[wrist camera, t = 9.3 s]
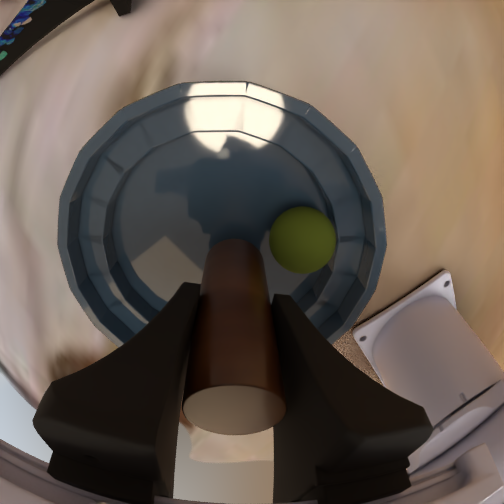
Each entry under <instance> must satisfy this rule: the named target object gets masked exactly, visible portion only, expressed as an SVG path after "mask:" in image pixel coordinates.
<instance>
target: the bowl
mask: <svg viewBox="0 0 504 504" xmlns="http://www.w3.org/2000/svg"><path fill="white" fill-rule="evenodd" d="M300 206H306V207H311V208H314V209H316V210H319V211H320V212H322V213H323V214H324V215H325V216H326V217H327V218H328V219H329V220H330V222H331V223H332V225H333V227H334V230H335V234H336V246H335V250H334V253H333V255H332V257H331V259H330V260H329V261H328V263H327V264H326V265H325V266H323V267H322V268H321V269H319V270H317V271H315V272H312V273H306V274H299V273H294V272H291V271H288V270H286V269H285V268H283V267H282V266H281V265H280V264H279V263H278V262H277V261H276V260H275V258H274V257H273V255H272V252H271V249H270V245H269V235H270V230H271V228H272V225H273V223H274V222H275V220H276V219H277V218H278V217H279V216H280V215H281V214H282V213H283V212H285V211H286V210H288V209H291V208H294V207H300ZM227 239H241V240H245V241H247V242H250V243H251V244H253V245H254V246H255V247H257V249H258V250H259V251H260V253H261V254H262V257H263V260H264V266H265V272H266V278H267V284H268V290H269V296H270V302H271V304H272V300H273V297H274V293H275V294H284V295H290V296H291V297H292V298H293V299H294V301H295V302H296V303H297V305H298V306H299V307H300V309H301V310H302V311H303V312H304V314H305V315H306V316H307V317H308V319H309V320H310V321H311V322H312V324H313V325H314V326H315V327H316V328H317V330H318V331H319V332H320V333H321V334H322V335H323V336H324V337H325V338H326V340H327V341H328V342H329V343H330V344H331V345H332V344H333V343H334V342H336V341H337V340H338V339H339V338H340V337H341V336H342V335H344V334H345V333H346V332H347V331H348V330H349V329H350V328H351V327H352V326H353V325H354V323H355V322H356V320H357V319H358V317H359V316H360V314H361V313H362V311H363V309H364V308H365V306H366V305H367V303H368V302H369V300H370V298H371V297H372V295H373V293H374V292H375V290H376V286H377V283H378V279H379V275H380V272H381V268H382V264H383V260H384V256H385V252H386V246H387V240H386V228H385V217H384V208H383V199H382V196H381V193H380V191H379V189H378V186H377V184H376V182H375V180H374V178H373V176H372V174H371V172H370V170H369V168H368V166H367V164H366V162H365V160H364V158H363V156H362V154H361V152H360V151H359V149H358V147H356V145H355V144H354V143H353V142H352V141H351V140H350V139H349V138H348V137H347V136H346V135H345V134H344V133H343V132H342V131H341V130H340V129H338V128H337V127H336V126H335V125H334V124H333V123H332V122H331V121H330V120H328V119H327V118H326V117H325V116H324V115H323V114H322V113H320V112H319V111H318V110H317V109H316V108H314V107H313V106H312V105H310V104H308V103H306V102H304V101H301V100H299V99H296V98H294V97H291V96H289V95H286V94H283V93H281V92H278V91H275V90H272V89H270V88H267V87H264V86H261V85H258V84H255V83H252V82H247V81H205V82H185V83H181V84H176V85H173V86H171V87H168V88H166V89H163V90H161V91H158V92H156V93H154V94H151V95H149V96H147V97H144V98H142V99H140V100H138V101H136V102H133V103H131V104H129V105H127V106H125V107H123V108H122V109H120V110H119V111H118V112H117V113H116V114H115V115H114V116H113V117H112V118H111V119H110V120H109V121H108V122H107V123H106V124H105V125H104V126H103V127H102V128H101V129H100V130H99V131H98V132H97V133H96V134H95V135H94V136H93V137H92V138H91V139H90V140H89V141H88V142H87V143H86V144H85V145H84V146H83V147H82V149H81V150H80V152H79V154H78V156H77V158H76V160H75V162H74V165H73V167H72V169H71V171H70V174H69V176H68V178H67V181H66V183H65V186H64V188H63V191H62V193H61V196H60V201H59V215H58V240H57V245H58V249H59V253H60V257H61V261H62V264H63V268H64V271H65V275H66V278H67V281H68V284H69V287H70V289H71V291H72V293H73V295H74V296H75V298H76V299H77V301H78V302H79V304H80V306H81V307H82V309H83V310H84V312H85V313H86V315H87V316H88V318H89V319H90V321H91V322H92V323H93V324H94V326H95V327H96V328H97V329H98V330H99V331H101V332H102V333H103V334H104V335H105V336H106V337H107V338H108V339H109V340H111V341H112V342H113V343H114V344H115V345H116V346H118V347H120V346H122V345H123V344H124V343H126V342H127V341H128V340H130V339H131V338H132V337H133V336H135V335H136V334H137V333H138V332H139V331H140V330H141V329H143V328H144V327H145V326H146V325H147V324H148V323H149V322H150V321H151V320H152V319H153V318H154V317H155V316H156V315H157V314H158V313H159V312H160V311H161V309H162V308H163V307H164V306H165V305H166V304H167V303H168V302H169V300H170V299H171V298H172V297H173V295H174V294H175V293H176V291H177V290H178V289H179V287H180V286H181V284H182V283H184V282H190V283H197V284H201V281H202V276H203V270H204V265H205V260H206V256H207V254H208V252H209V251H210V249H211V248H212V247H213V246H215V245H216V244H217V243H219V242H221V241H224V240H227Z"/></svg>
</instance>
